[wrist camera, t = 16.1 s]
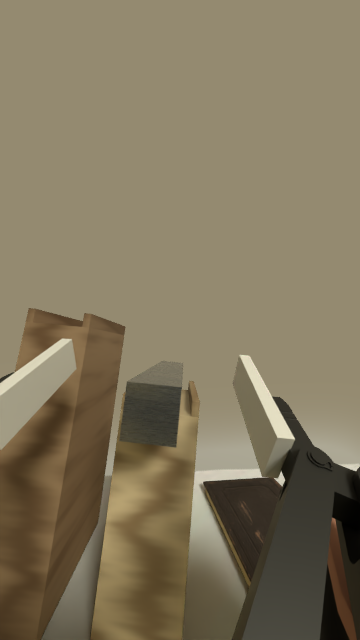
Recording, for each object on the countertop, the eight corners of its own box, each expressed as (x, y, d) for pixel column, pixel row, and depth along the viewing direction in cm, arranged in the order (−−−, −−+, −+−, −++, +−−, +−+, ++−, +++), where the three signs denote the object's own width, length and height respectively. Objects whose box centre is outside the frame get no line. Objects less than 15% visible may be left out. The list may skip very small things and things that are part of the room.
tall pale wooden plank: (88, 651, 16) (123, 393, 19) (128, 522, 28) (146, 376, 31) (180, 665, 16) (199, 401, 19) (181, 529, 28) (193, 381, 31)
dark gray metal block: (119, 441, 13) (127, 381, 13) (159, 382, 35) (162, 361, 35) (176, 447, 13) (181, 387, 13) (181, 385, 34) (183, 363, 35)
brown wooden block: (-45, 641, 16) (28, 308, 20) (56, 510, 29) (88, 323, 33) (33, 653, 16) (91, 314, 20) (100, 516, 29) (127, 327, 33)
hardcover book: (311, 744, 13) (310, 703, 14) (202, 494, 36) (203, 481, 36) (456, 680, 17) (452, 649, 17) (274, 488, 39) (274, 476, 39)
